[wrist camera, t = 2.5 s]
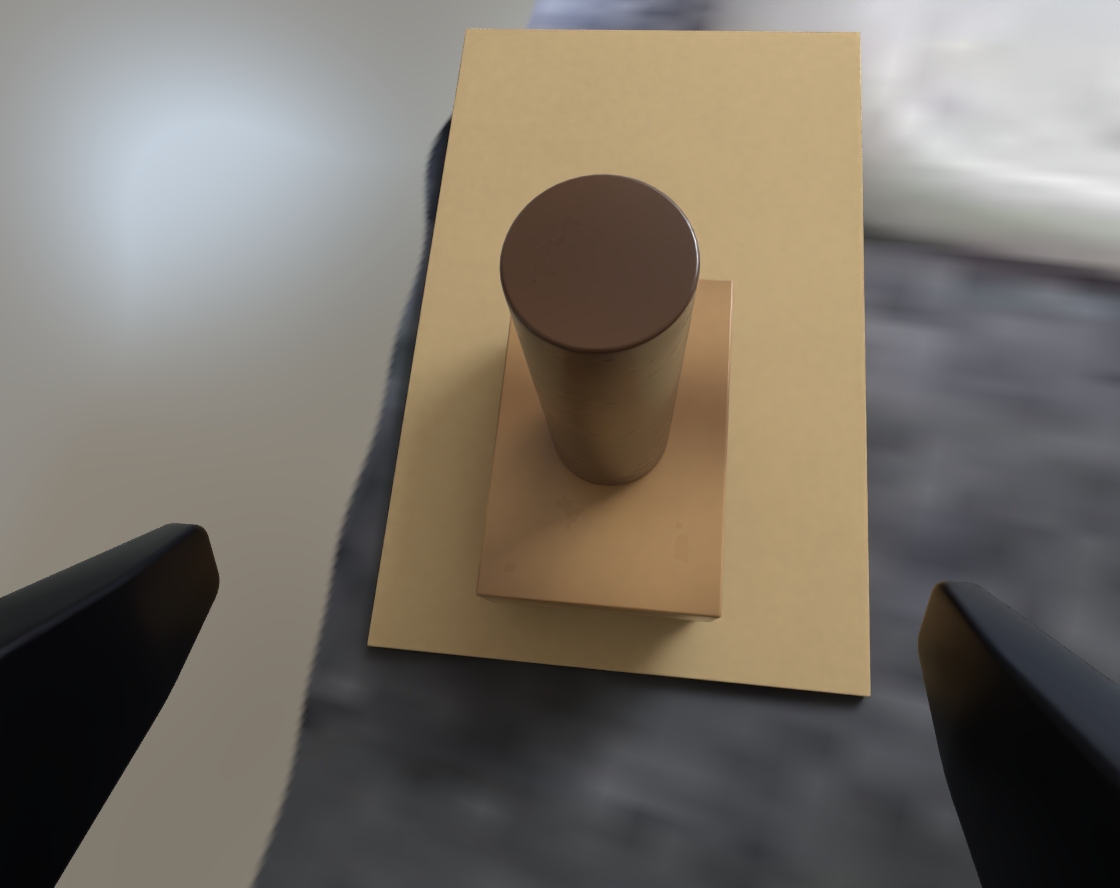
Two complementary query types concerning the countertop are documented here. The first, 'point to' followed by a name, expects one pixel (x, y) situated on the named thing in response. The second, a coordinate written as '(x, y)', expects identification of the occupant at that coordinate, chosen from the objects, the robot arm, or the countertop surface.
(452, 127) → the cork mat
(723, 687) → the countertop surface
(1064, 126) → the countertop surface
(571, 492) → the wooden rubber stamp
